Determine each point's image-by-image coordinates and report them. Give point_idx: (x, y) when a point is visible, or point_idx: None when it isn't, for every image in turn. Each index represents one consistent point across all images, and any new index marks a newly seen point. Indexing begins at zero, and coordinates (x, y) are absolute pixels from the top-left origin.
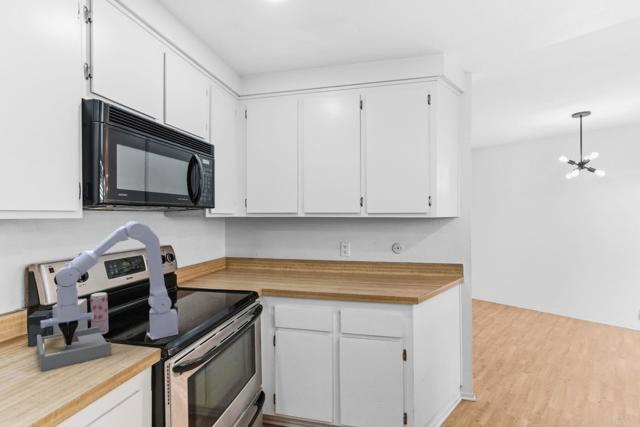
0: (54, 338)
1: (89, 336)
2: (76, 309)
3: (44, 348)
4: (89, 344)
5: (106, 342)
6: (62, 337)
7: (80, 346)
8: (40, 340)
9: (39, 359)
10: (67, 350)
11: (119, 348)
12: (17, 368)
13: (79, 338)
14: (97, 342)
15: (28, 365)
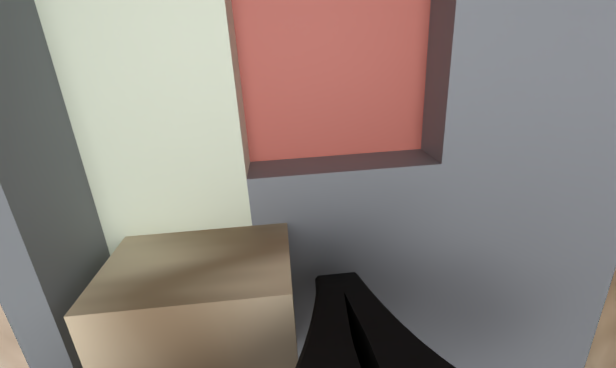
0: (196, 350)
1: (569, 39)
2: None
3: (119, 247)
4: (484, 303)
5: (594, 329)
6: (288, 358)
7: (416, 315)
8: (14, 257)
9: None
10: None
11: (610, 337)
12: (5, 356)
13: (464, 44)
14: (548, 289)
15: None
